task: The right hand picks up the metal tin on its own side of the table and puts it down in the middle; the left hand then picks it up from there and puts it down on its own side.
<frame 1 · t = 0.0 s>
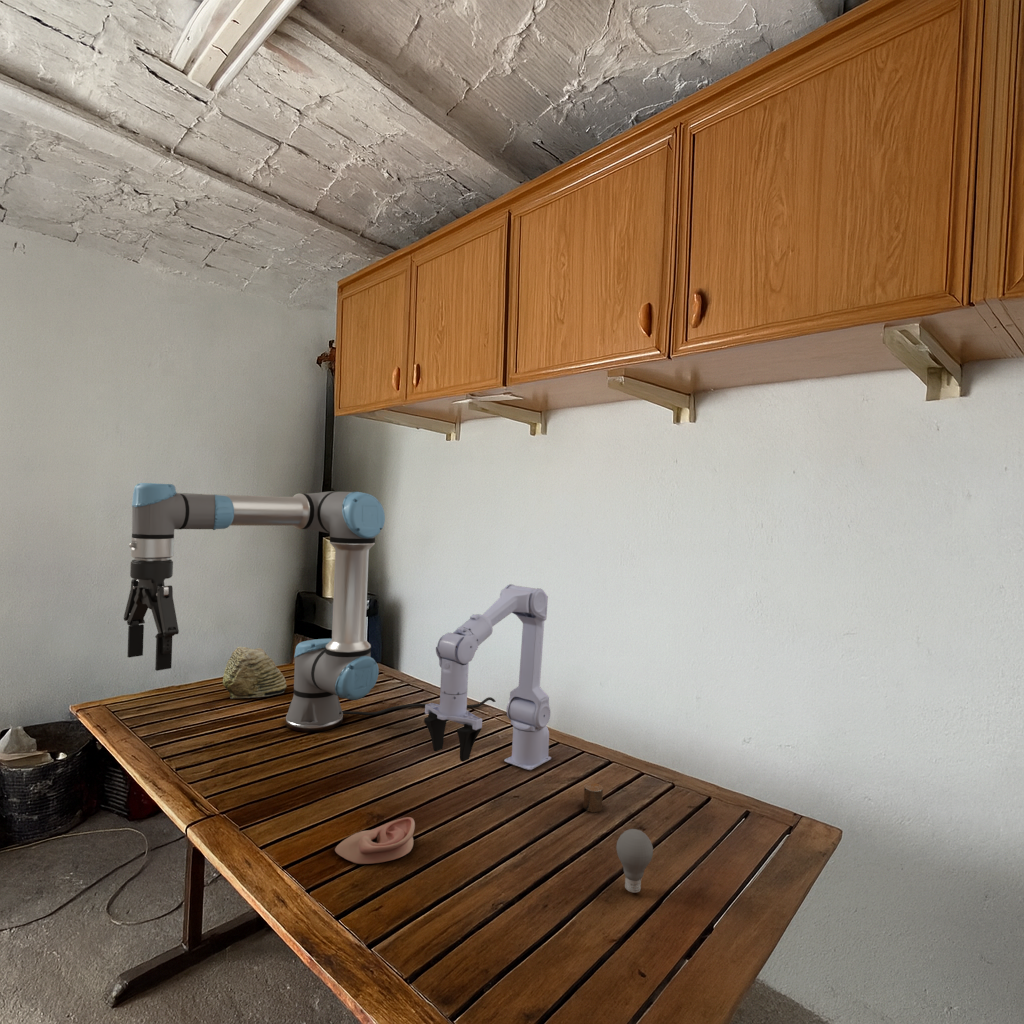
left hand: (148, 662, 129), 28 cm above the table, tool pointing down, fingers open, 13 cm apart
right hand: (451, 754, 134), 10 cm above the table, tool pointing down, fingers open, 7 cm apart
light bulb: (632, 891, 106), on the table
fossil: (254, 694, 198), on the table
anatomical model: (375, 848, 115), on the table
tin: (592, 807, 134), on the table
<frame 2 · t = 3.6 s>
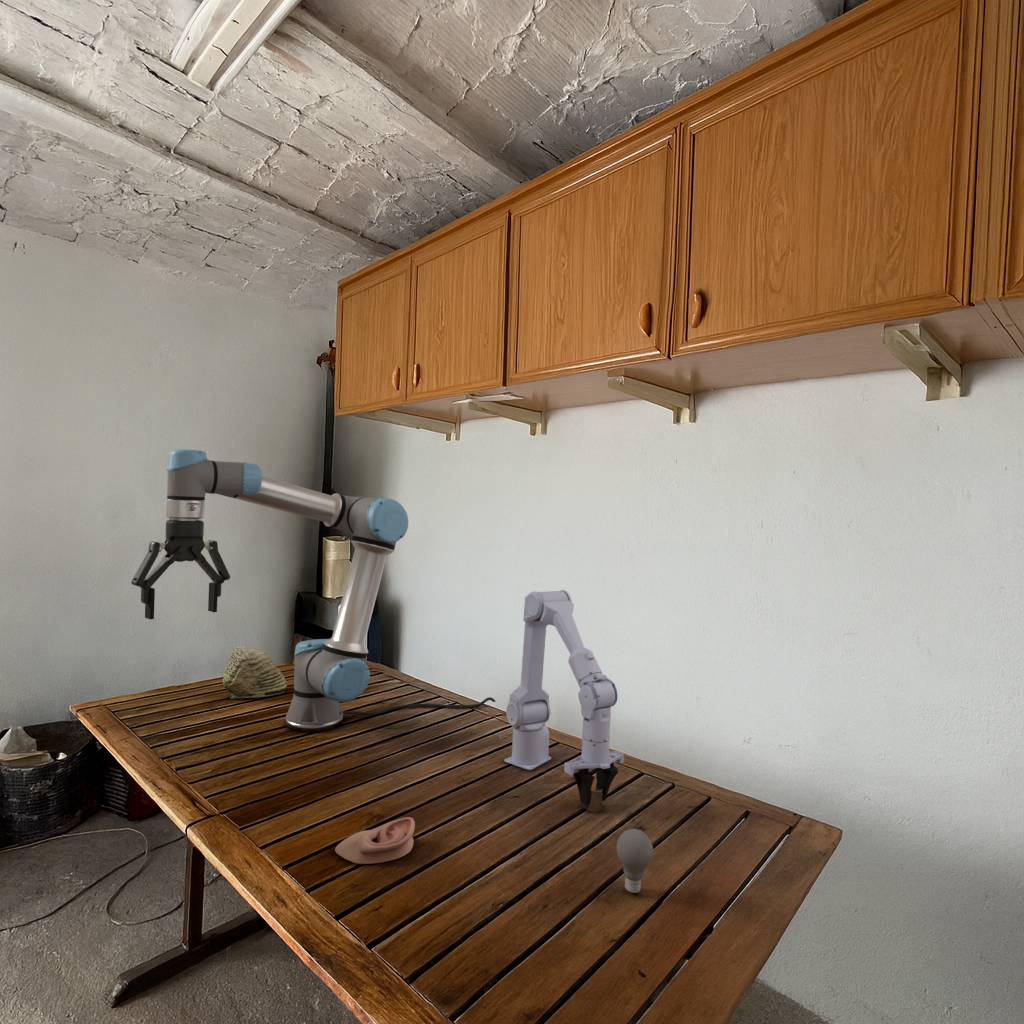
left hand: (182, 614, 141), 36 cm above the table, tool pointing down, fingers open, 13 cm apart
right hand: (592, 801, 134), 1 cm above the table, tool pointing down, fingers closed on tin, 4 cm apart
tin: (592, 807, 134), on the table, touching right hand
everything else where it was.
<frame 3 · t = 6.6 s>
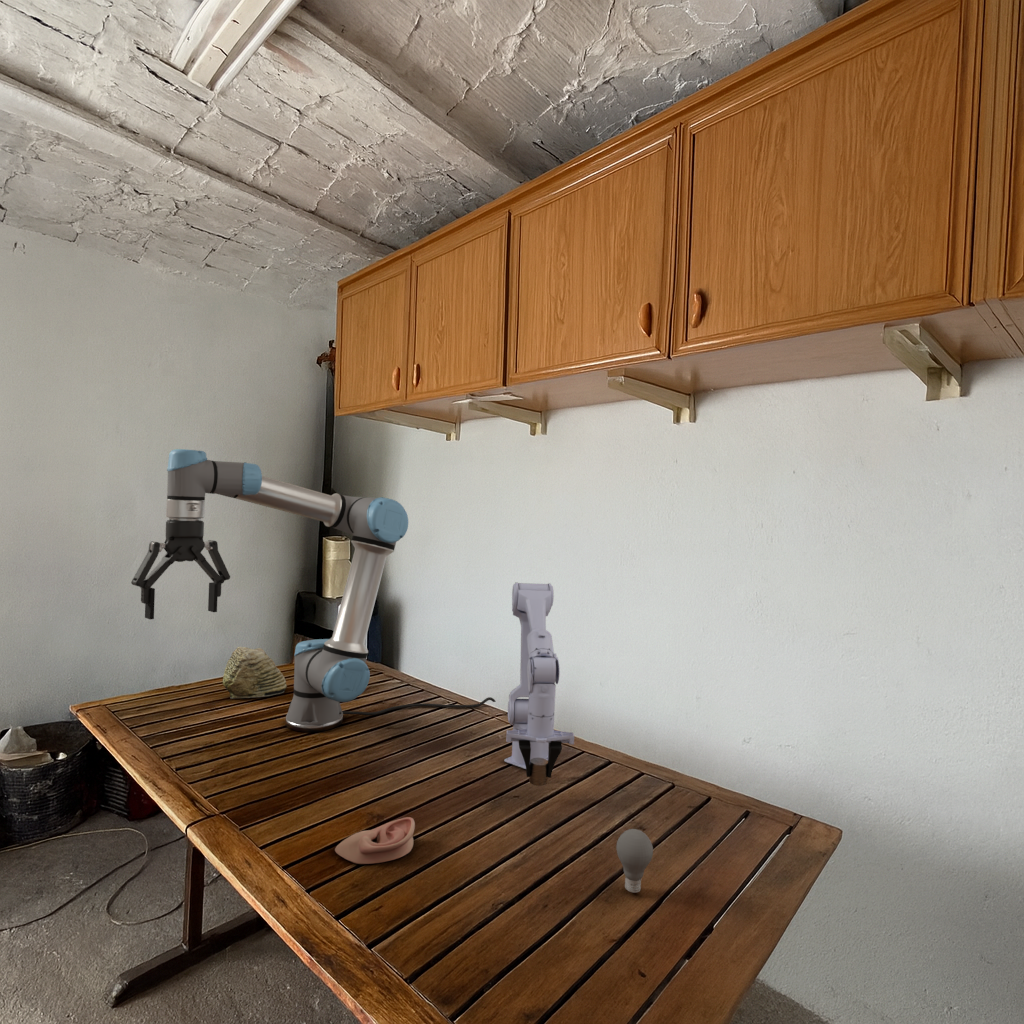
left hand: (182, 614, 141), 36 cm above the table, tool pointing down, fingers open, 13 cm apart
right hand: (538, 775, 137), 5 cm above the table, tool pointing down, fingers closed on tin, 4 cm apart
tin: (538, 781, 137), point 4 cm above the table, touching right hand
everything else where it was.
when the right hand's fingers open (2 cm above the table, at t = 10.0 s): tin stays where it is, on the table.
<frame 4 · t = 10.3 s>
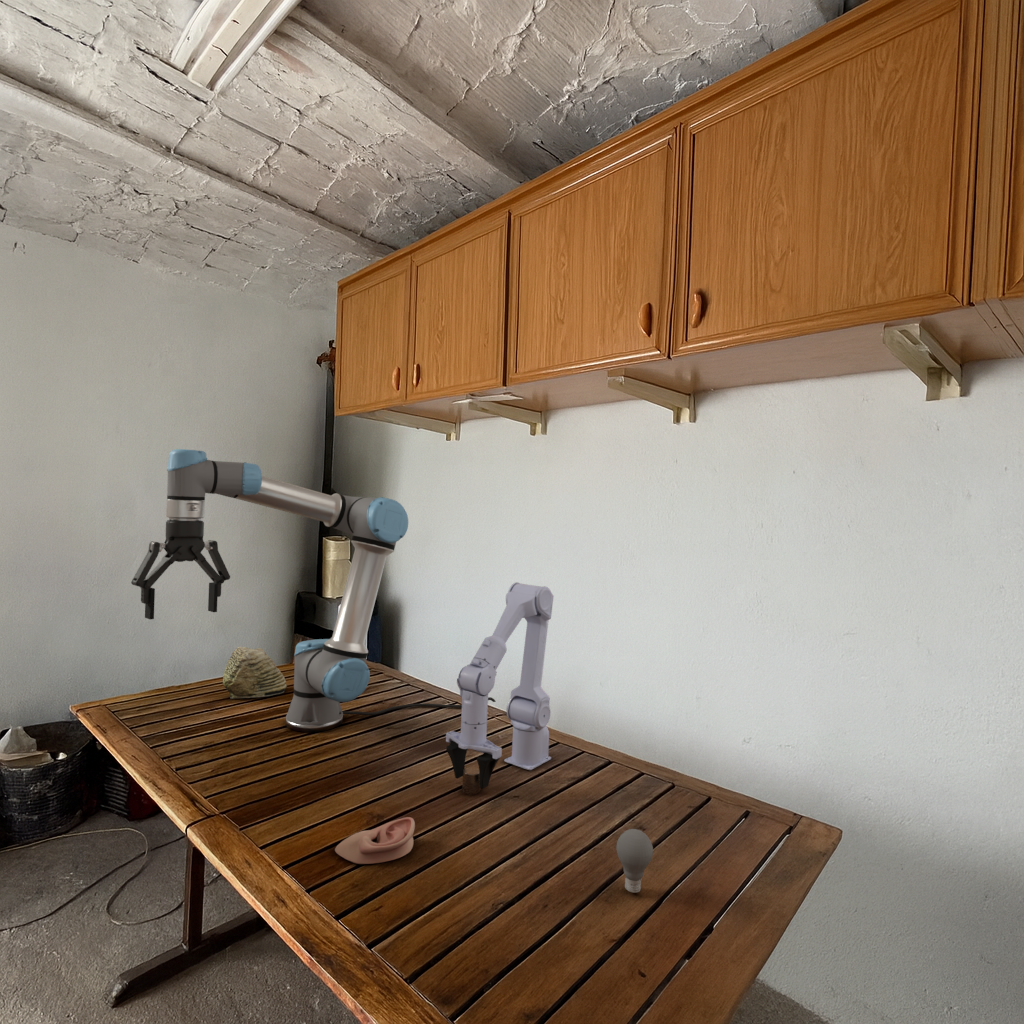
left hand: (182, 614, 141), 36 cm above the table, tool pointing down, fingers open, 13 cm apart
right hand: (471, 781, 140), 2 cm above the table, tool pointing down, fingers open, 7 cm apart
tin: (471, 790, 140), on the table
everything else where it was.
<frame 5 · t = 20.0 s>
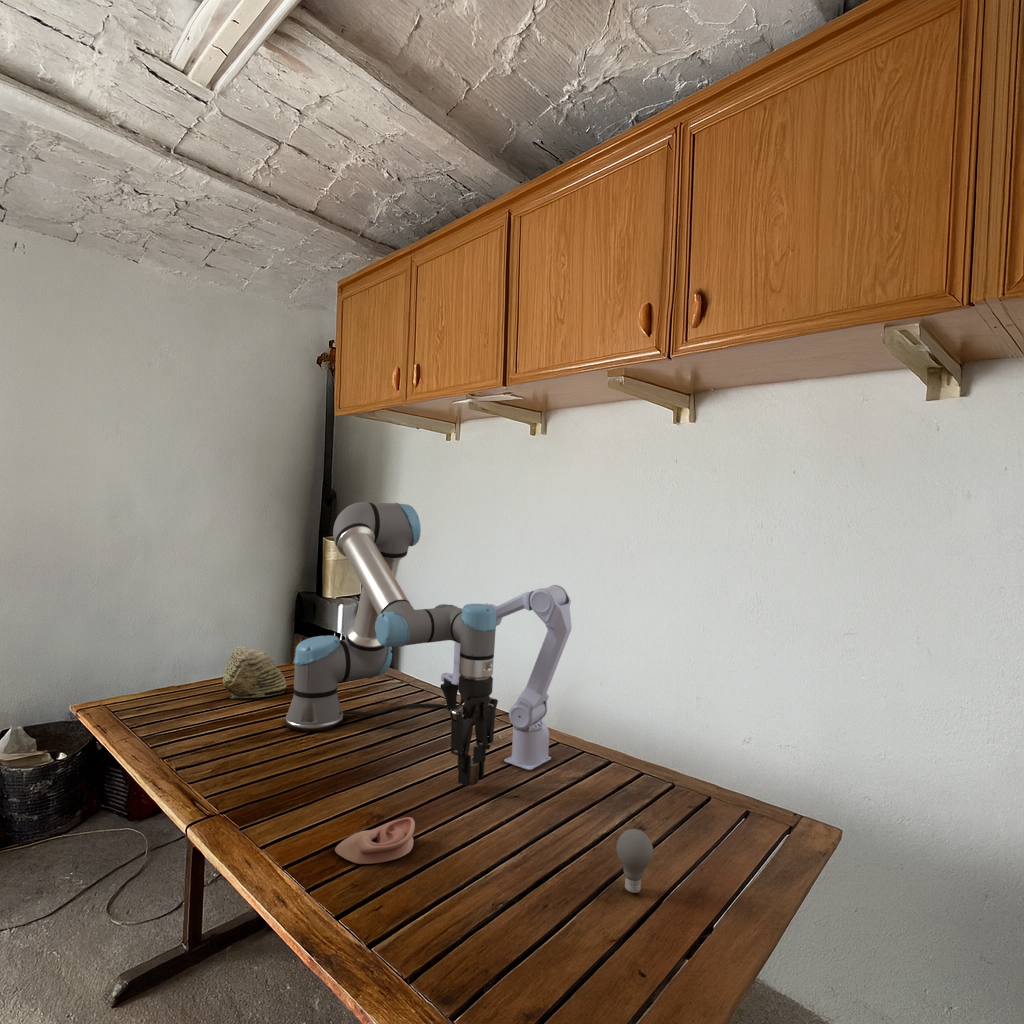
left hand: (470, 780, 140), 2 cm above the table, tool pointing down, fingers closed on tin, 4 cm apart
right hand: (462, 713, 165), 8 cm above the table, tool pointing down, fingers open, 7 cm apart
tin: (469, 781, 140), point 2 cm above the table, touching left hand
everything else where it was.
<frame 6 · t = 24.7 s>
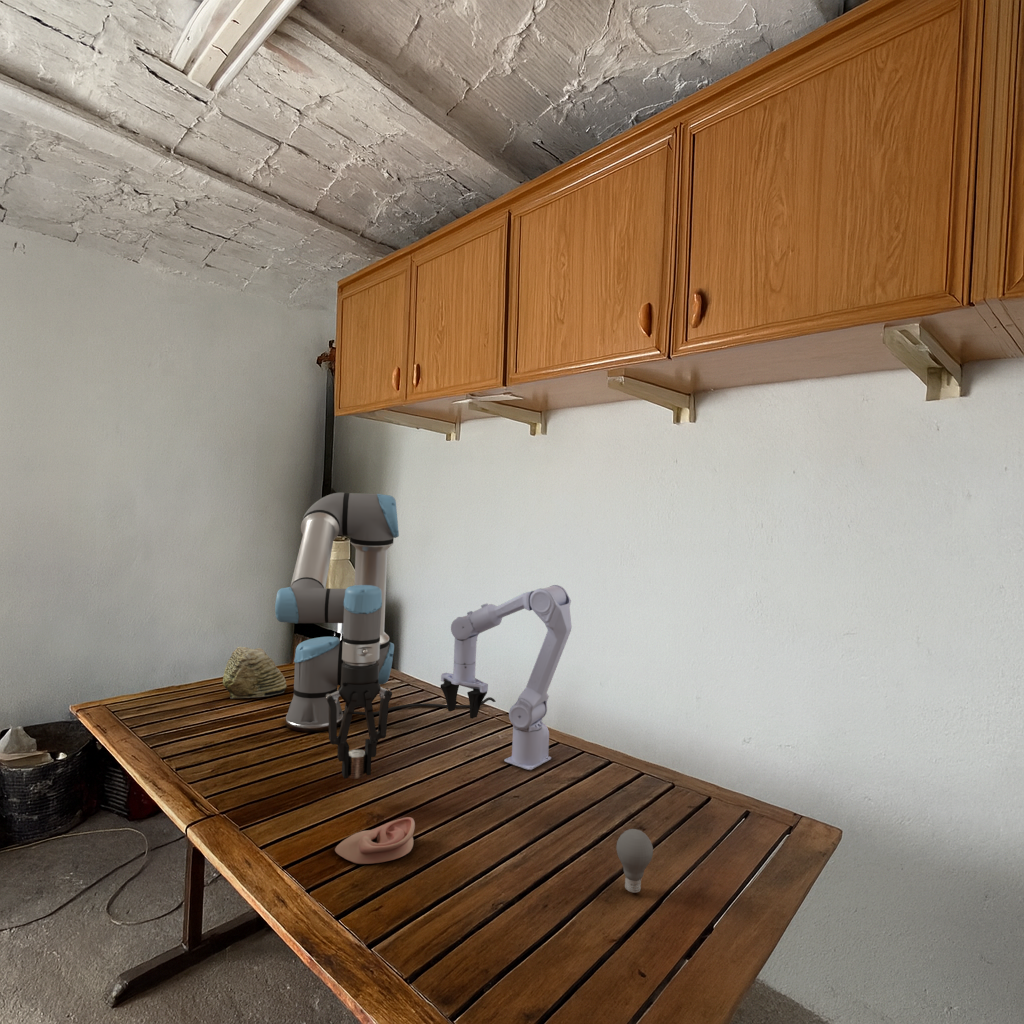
left hand: (356, 773, 131), 7 cm above the table, tool pointing down, fingers closed on tin, 4 cm apart
right hand: (462, 713, 165), 8 cm above the table, tool pointing down, fingers open, 7 cm apart
tin: (355, 774, 131), point 6 cm above the table, touching left hand
everything else where it was.
when the left hand's fingers open (0 cm above the table, at t = 29.4 s): tin stays where it is, on the table.
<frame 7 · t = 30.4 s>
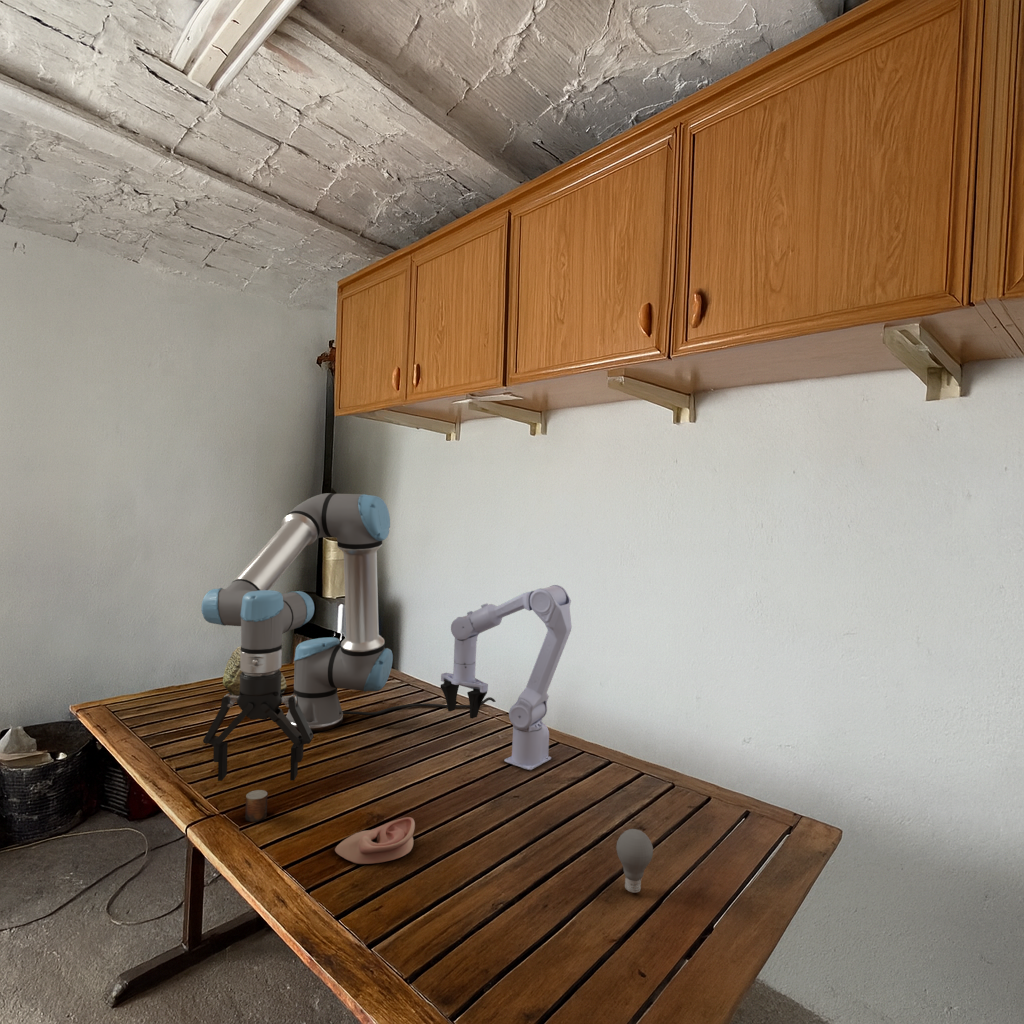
left hand: (258, 777, 124), 8 cm above the table, tool pointing down, fingers open, 13 cm apart
right hand: (462, 713, 165), 8 cm above the table, tool pointing down, fingers open, 7 cm apart
tin: (256, 816, 124), on the table
everything else where it was.
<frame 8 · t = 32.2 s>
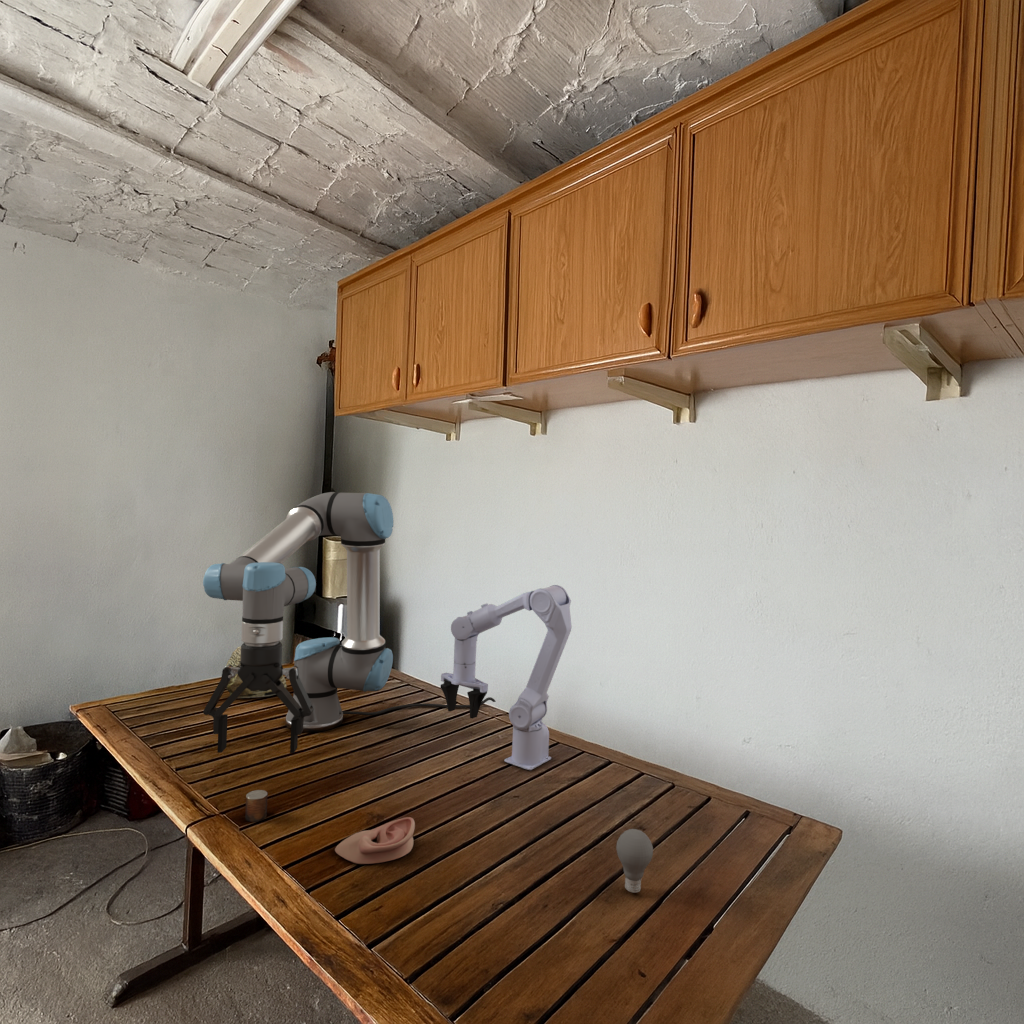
left hand: (258, 750, 124), 13 cm above the table, tool pointing down, fingers open, 13 cm apart
right hand: (462, 713, 165), 8 cm above the table, tool pointing down, fingers open, 7 cm apart
nothing on the table moved.
at the end: tin inside the target area (0.3 cm from its centre), on the table; tin tilted 0°; the two hands never held the tin at the same time; the left hand is holding nothing; the right hand is holding nothing; tin at rest at the end (0.0 cm/s) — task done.
